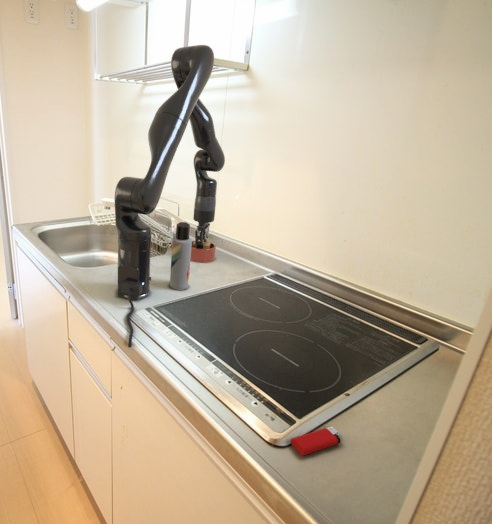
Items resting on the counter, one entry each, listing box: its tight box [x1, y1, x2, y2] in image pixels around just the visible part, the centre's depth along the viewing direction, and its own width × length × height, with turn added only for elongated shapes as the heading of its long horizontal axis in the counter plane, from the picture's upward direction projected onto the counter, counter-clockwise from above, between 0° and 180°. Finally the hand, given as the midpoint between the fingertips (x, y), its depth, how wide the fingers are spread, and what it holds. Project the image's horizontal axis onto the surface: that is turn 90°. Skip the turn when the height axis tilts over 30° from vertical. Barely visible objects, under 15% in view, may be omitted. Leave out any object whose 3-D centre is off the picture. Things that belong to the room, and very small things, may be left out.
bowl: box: [190, 240, 217, 263], centre depth 136 cm, size 11×11×5 cm
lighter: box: [290, 425, 341, 456], centre depth 57 cm, size 3×1×8 cm
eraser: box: [192, 240, 212, 249], centre depth 136 cm, size 6×4×4 cm, turn 68°
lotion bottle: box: [169, 221, 193, 291], centre depth 108 cm, size 6×6×20 cm
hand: (200, 252), depth 136 cm, fingers closed on eraser, 4 cm apart
